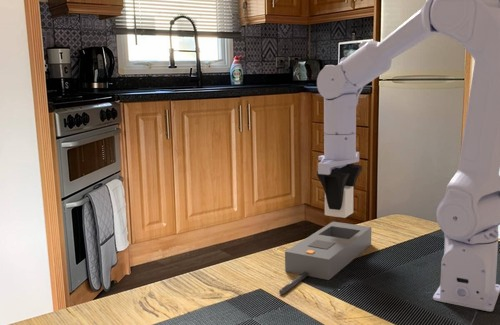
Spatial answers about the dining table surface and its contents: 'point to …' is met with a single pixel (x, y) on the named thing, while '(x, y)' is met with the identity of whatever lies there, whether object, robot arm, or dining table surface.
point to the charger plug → (346, 204)
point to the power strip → (326, 251)
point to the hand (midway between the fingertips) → (339, 206)
